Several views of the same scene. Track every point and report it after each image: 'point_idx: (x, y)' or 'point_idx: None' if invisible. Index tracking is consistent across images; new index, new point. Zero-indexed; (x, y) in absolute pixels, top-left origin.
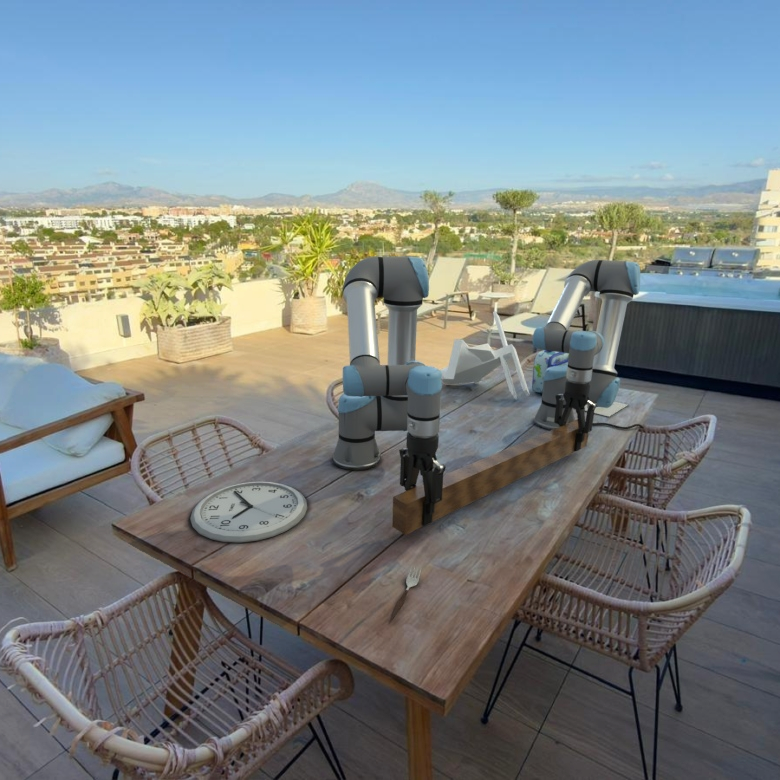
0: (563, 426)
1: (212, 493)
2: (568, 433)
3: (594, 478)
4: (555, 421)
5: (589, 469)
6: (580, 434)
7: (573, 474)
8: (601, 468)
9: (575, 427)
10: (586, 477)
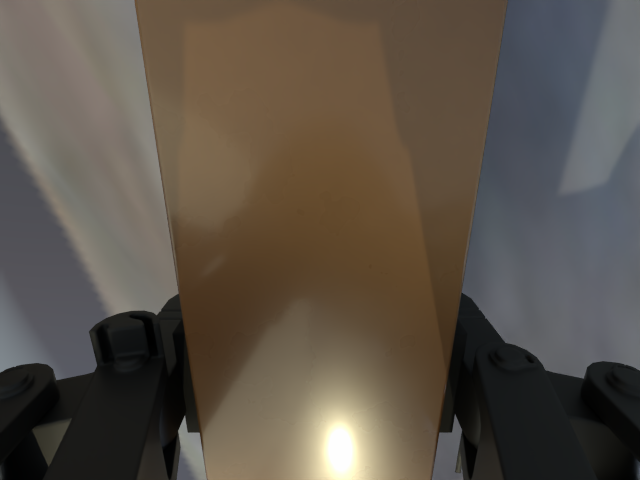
0: (418, 304)
1: None
2: (152, 73)
3: (9, 78)
4: (638, 379)
5: (131, 188)
6: (166, 345)
7: (132, 7)
8: (102, 261)
9: (249, 413)
10: (47, 43)
